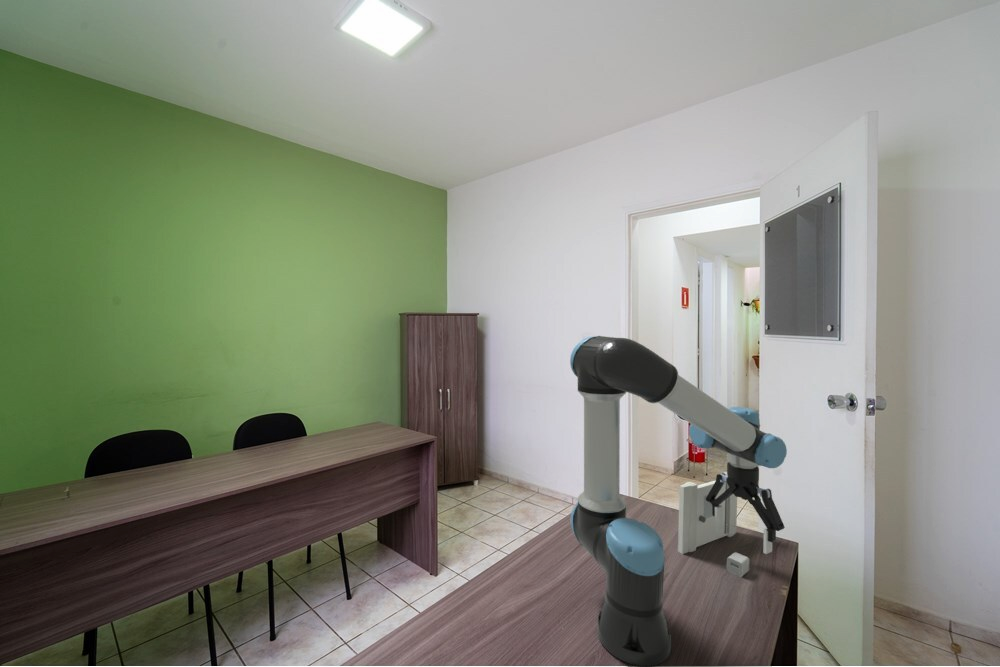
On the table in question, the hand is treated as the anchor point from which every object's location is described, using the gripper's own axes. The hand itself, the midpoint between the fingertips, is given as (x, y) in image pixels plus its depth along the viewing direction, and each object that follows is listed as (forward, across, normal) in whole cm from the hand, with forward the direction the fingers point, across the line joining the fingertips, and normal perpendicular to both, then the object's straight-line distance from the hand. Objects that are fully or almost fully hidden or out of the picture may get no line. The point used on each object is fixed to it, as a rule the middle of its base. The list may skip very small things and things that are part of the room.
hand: (741, 539), depth 112 cm
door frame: (+8, +13, -4) cm, 16 cm away
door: (+8, +13, -5) cm, 15 cm away
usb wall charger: (+8, 0, +1) cm, 9 cm away
